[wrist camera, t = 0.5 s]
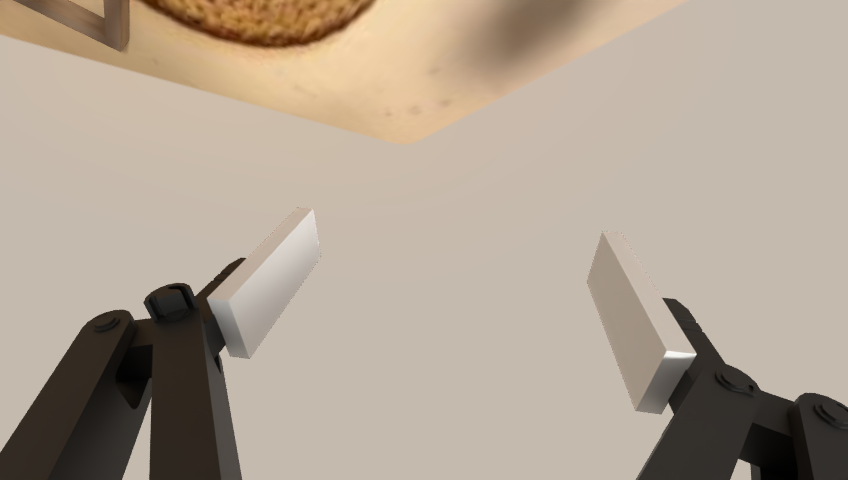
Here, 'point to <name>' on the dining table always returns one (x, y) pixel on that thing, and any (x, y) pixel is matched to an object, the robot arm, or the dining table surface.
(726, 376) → the robot arm
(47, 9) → the walnut frame
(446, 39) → the dining table surface
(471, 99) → the dining table surface
